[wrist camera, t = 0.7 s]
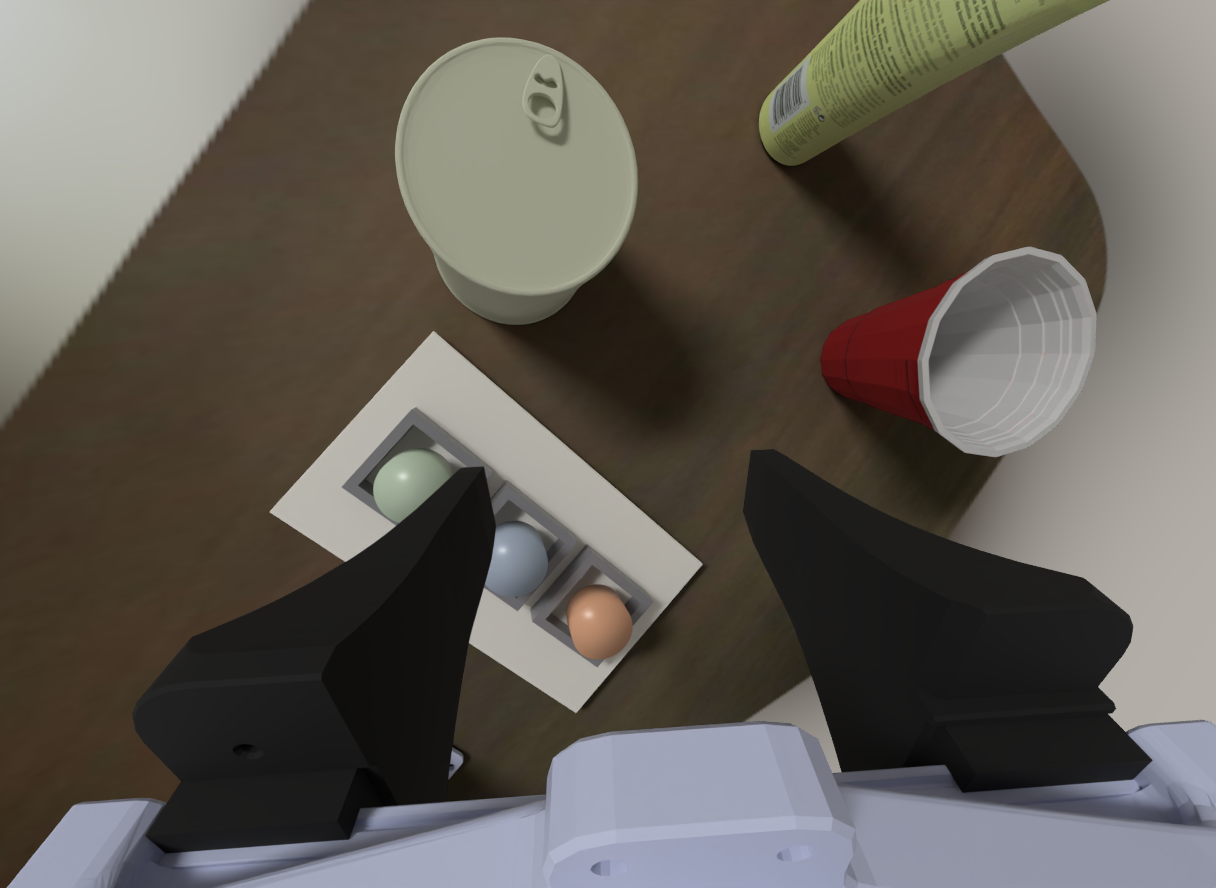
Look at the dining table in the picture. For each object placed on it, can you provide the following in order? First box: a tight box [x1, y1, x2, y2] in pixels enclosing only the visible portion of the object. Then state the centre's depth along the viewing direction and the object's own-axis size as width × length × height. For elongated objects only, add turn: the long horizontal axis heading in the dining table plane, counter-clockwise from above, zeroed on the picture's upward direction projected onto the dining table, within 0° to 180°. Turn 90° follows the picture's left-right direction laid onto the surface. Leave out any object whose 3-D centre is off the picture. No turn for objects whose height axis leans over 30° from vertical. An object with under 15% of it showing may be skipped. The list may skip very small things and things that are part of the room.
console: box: [270, 331, 702, 713], centre depth 30 cm, size 14×24×3 cm, turn 48°
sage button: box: [373, 448, 453, 523], centre depth 26 cm, size 4×4×2 cm
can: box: [395, 38, 638, 325], centre depth 23 cm, size 9×9×12 cm
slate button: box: [485, 521, 548, 597], centre depth 28 cm, size 4×4×2 cm
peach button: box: [566, 584, 633, 660], centre depth 30 cm, size 4×4×2 cm
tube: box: [759, 0, 1109, 166], centre depth 22 cm, size 6×5×20 cm
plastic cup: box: [820, 247, 1096, 457], centre depth 30 cm, size 11×11×12 cm
